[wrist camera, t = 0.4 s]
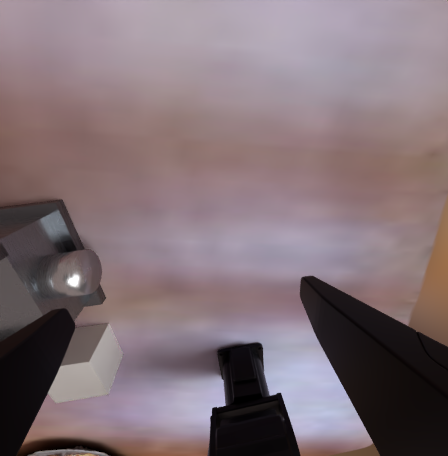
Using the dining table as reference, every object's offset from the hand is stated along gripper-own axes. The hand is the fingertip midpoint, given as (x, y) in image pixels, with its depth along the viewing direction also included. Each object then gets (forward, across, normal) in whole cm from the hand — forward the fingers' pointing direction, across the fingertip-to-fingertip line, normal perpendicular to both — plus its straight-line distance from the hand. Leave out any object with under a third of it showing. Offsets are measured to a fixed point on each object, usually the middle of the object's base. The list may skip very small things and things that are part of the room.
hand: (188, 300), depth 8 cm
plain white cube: (+14, +16, +17) cm, 28 cm away
